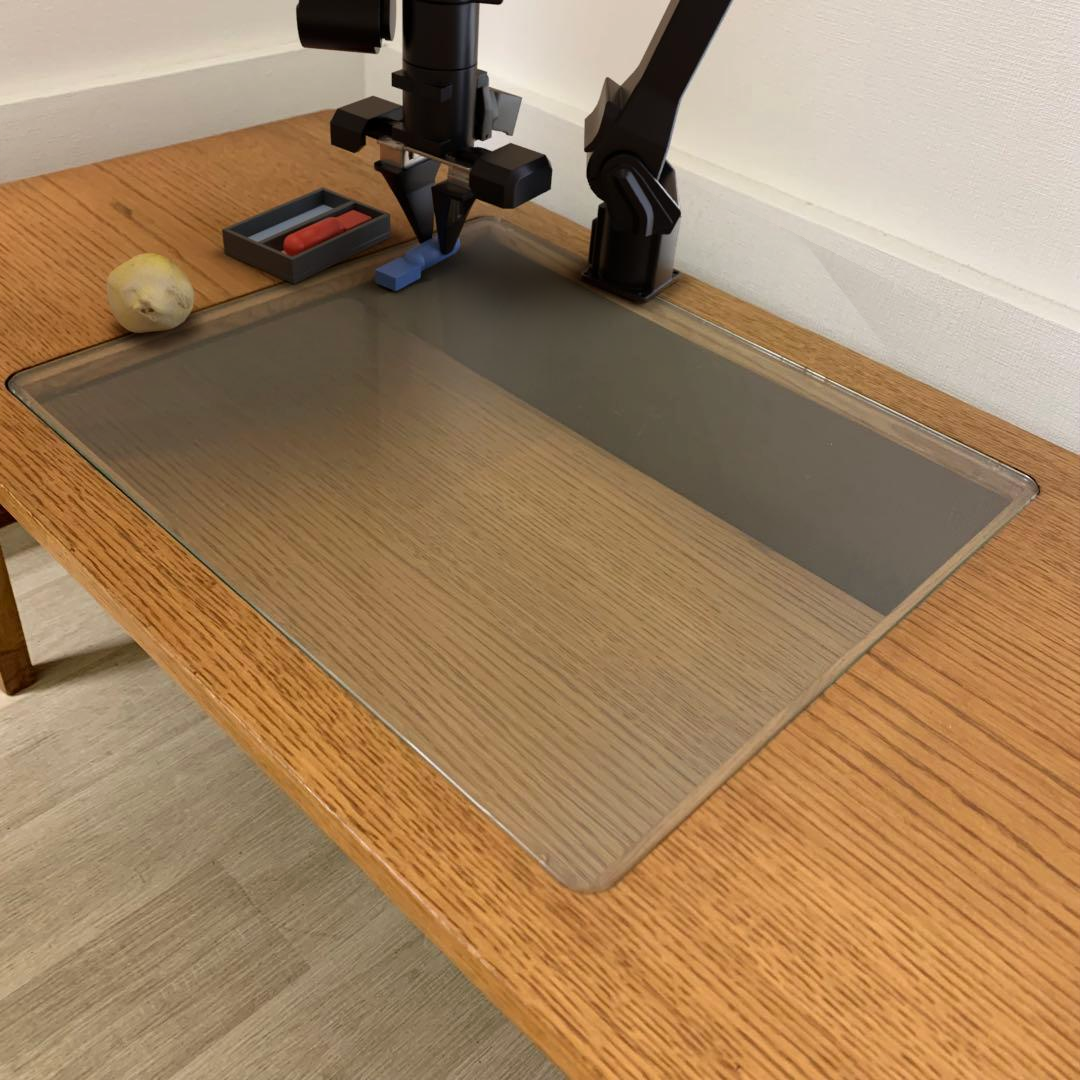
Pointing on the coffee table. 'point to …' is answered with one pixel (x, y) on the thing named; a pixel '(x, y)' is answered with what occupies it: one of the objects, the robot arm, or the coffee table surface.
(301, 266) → the tray
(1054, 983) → the coffee table surface
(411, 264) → the blue block-ended handle
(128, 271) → the fruit
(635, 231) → the robot arm
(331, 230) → the red capsule-ended rod
